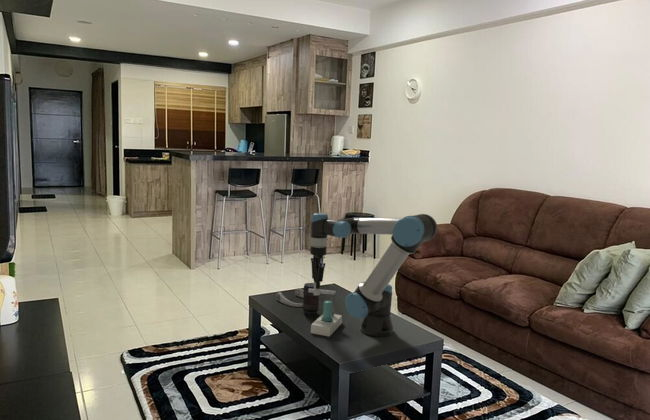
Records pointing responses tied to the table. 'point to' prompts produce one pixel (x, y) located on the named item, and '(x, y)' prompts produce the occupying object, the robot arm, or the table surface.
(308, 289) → the grey square bar
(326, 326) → the grey block with rod
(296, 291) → the neck fan
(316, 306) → the camera lens
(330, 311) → the plug
